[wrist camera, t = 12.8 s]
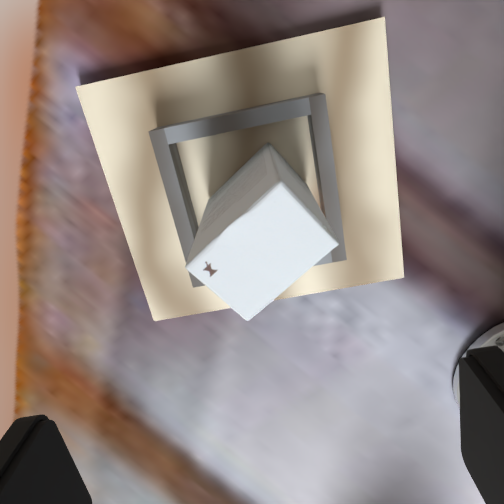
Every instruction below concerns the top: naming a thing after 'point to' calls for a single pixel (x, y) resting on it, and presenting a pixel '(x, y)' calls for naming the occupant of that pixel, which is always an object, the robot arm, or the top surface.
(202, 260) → the skincare box
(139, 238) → the holder board
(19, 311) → the top surface
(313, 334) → the top surface
